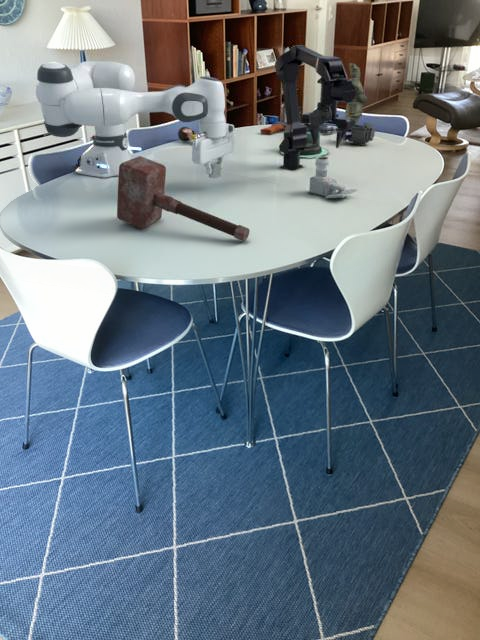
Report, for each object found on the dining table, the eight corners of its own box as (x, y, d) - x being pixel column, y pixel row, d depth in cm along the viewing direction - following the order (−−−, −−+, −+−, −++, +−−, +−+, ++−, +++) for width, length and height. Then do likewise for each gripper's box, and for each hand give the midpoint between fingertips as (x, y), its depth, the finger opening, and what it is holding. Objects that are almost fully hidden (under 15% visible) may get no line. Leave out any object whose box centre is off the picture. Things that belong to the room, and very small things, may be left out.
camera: (321, 153, 186) (360, 161, 177) (319, 188, 192) (356, 197, 183) (306, 158, 180) (345, 167, 171) (304, 194, 186) (342, 204, 177)
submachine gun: (254, 130, 262) (277, 120, 281) (254, 136, 263) (277, 126, 282) (316, 136, 248) (336, 125, 267) (316, 142, 250) (336, 131, 268)
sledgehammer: (260, 200, 149) (138, 154, 161) (243, 211, 142) (117, 162, 153) (248, 256, 159) (134, 209, 171) (232, 269, 152) (114, 219, 163)
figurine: (211, 139, 238) (170, 125, 250) (210, 157, 242) (170, 142, 255) (230, 134, 247) (190, 120, 259) (229, 150, 251) (189, 136, 263)
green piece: (332, 145, 241) (326, 158, 224) (294, 164, 249) (286, 177, 233) (317, 113, 235) (310, 124, 219) (279, 133, 244) (269, 145, 228)
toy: (345, 120, 249) (377, 123, 242) (343, 139, 253) (375, 143, 246) (337, 123, 243) (369, 127, 236) (336, 143, 247) (367, 147, 240)
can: (206, 177, 190) (206, 164, 188) (211, 174, 194) (210, 161, 191) (217, 178, 189) (217, 165, 187) (222, 175, 192) (222, 161, 190)
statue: (367, 132, 266) (374, 63, 251) (349, 133, 264) (355, 64, 249) (357, 127, 275) (362, 61, 260) (339, 129, 273) (344, 62, 258)
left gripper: (201, 137, 174) (204, 180, 181) (237, 125, 189) (237, 165, 196) (186, 134, 177) (188, 177, 184) (221, 123, 192) (223, 163, 199)
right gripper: (292, 99, 187) (290, 146, 195) (339, 104, 176) (336, 154, 184) (311, 95, 194) (309, 140, 202) (357, 100, 183) (353, 148, 191)
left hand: (214, 171), depth 190 cm, fingers closed on can, 4 cm apart
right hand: (326, 146), depth 194 cm, fingers open, 9 cm apart
